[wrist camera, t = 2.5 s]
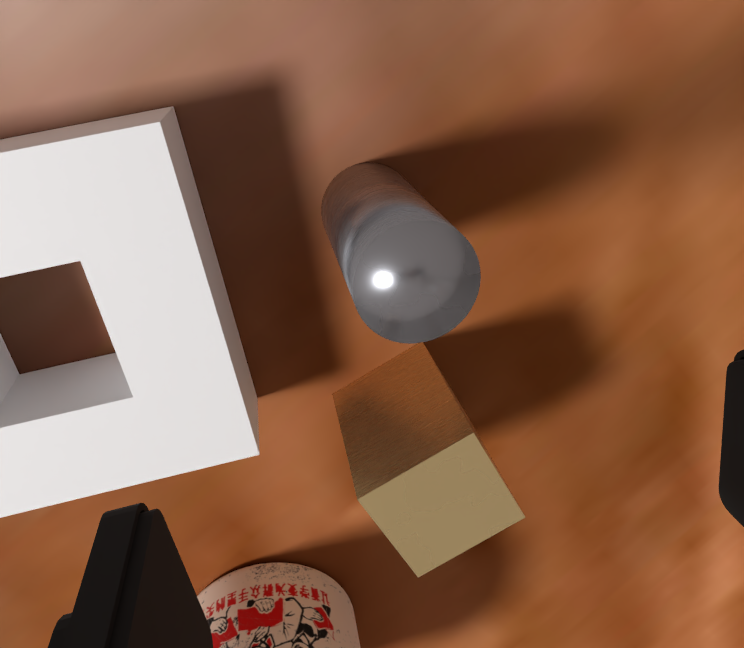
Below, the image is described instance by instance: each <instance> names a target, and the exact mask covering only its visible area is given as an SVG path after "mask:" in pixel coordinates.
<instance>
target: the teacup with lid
mask: <svg viewBox="0 0 744 648" xmlns="http://www.w3.org/2000/svg"><path fill="white" fill-rule="evenodd" d="M197 598H198V600H199V603H200V605H201V607H202V610H203V612H204V614H205V617H206V619H207V622H208V624H209V627H210V630H211V634H212V639H213V648H361V647H360V642H359V636H358V631H357V626H356V620H355V615H354V610H353V606H352V604H351V601H350V599H349V597H348V595H347V593H346V592H345V591H344V589H343V588H342V587H341V586H340V585H339V584H338V583H337V582H336V581H335V580H334V579H332V578H331V577H329V576H328V575H326V574H324V573H322V572H321V571H318V570H316V569H313V568H311V567H307V566H304V565H299V564H293V563H281V562H277V563H263V564H257V565H252V566H248V567H244V568H241V569H238V570H236V571H233V572H231V573H229V574H227V575H225V576H223V577H221V578H219V579H218V580H216V581H214V582H213V583H212V584H210V585H209V586H208V587H206V588H205V589H204V590H203V591H202V592H201V593H200V594H199V595H198V596H197Z"/></svg>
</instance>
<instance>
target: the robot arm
mask: <svg viewBox="0 0 744 648" xmlns="http://www.w3.org/2000/svg"><path fill="white" fill-rule="evenodd" d="M719 494H720V498H721V500H722V503H723V504H724V506H725V508H726V509H727V510H728V511H729V513H730V514H731V515H732V516H733V517H734V518H735V519H736V520H737V521H738V522H739V523H740V524H741V525H742V526H743V527H744V350H741V351H740V352H738V353H737V354H736V356H735V358H734V362H732V363H730V364H729V365H728V367H727V374H726V389H725V403H724V418H723V432H722V447H721V462H720V476H719ZM48 648H213V639H212V634H211V630H210V627H209V624H208V622H207V619H206V617H205V614H204V612H203V610H202V607H201V605H200V603H199V600H198V598H197V595H196V593H195V591H194V588H193V586H192V584H191V581H190V579H189V577H188V574H187V572H186V569H185V567H184V565H183V562H182V560H181V558H180V555H179V553H178V550H177V548H176V546H175V543H174V541H173V539H172V536H171V534H170V531H169V529H168V527H167V524H166V522H165V520H164V517H163V515H162V513H161V511H160V510H159V509H154V510H150V511H149V510H148V508H147V506H146V505H145V504H144V503H139V504H135V505H131V506H127V507H123V508H119V509H115V510H111V511H107V512H105V513H104V514H103V515H102V518H101V520H100V523H99V527H98V530H97V533H96V537H95V540H94V543H93V546H92V550H91V553H90V556H89V560H88V563H87V566H86V569H85V573H84V576H83V579H82V583H81V586H80V589H79V593H78V596H77V599H76V602H75V606H74V609H73V612H72V613H70V614H66V615H63V616H62V617H61V618H60V619H59V620H58V622H57V624H56V626H55V628H54V630H53V633H52V636H51V640H50V643H49V646H48Z"/></svg>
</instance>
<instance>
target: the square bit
mask: <svg viewBox="0 0 744 648" xmlns="http://www.w3.org/2000/svg"><path fill="white" fill-rule="evenodd" d="M332 395H333V399H334V403H335V408H336V412H337V416H338V420H339V424H340V429H341V433H342V437H343V441H344V445H345V450H346V454H347V458H348V462H349V466H350V471H351V475H352V479H353V483H354V487H355V492H356V496H357V500H358V501H359V502H360V504H361V505H362V506H363V507H364V509H365V510H366V511H367V513H368V514H369V515H370V516H371V518H372V519H373V520H374V522H375V523H376V524H377V525H378V527H379V528H380V529H381V531H382V532H383V533H384V534H385V536H386V537H387V538H388V540H389V541H390V542H391V543H392V545H393V546H394V547H395V549H396V550H397V551H398V552H399V554H400V555H401V556H402V558H403V559H404V560H405V561H406V563H407V564H408V565H409V567H410V568H411V569H412V570H413V572H414V573H415V574H416V576H417V577H420V576H422V575H424V574H425V573H427V572H429V571H431V570H433V569H434V568H436V567H438V566H440V565H441V564H443V563H445V562H447V561H449V560H450V559H452V558H454V557H456V556H457V555H459V554H461V553H463V552H465V551H466V550H468V549H470V548H472V547H473V546H475V545H477V544H479V543H481V542H482V541H484V540H486V539H488V538H489V537H491V536H493V535H495V534H497V533H498V532H500V531H502V530H504V529H505V528H507V527H509V526H511V525H513V524H514V523H516V522H518V521H520V520H521V519H523V518H525V516H524V514H523V512H522V511H521V509H520V507H519V505H518V504H517V502H516V500H515V498H514V497H513V495H512V493H511V491H510V490H509V488H508V486H507V484H506V483H505V481H504V479H503V477H502V475H501V474H500V472H499V470H498V468H497V467H496V465H495V463H494V461H493V460H492V458H491V456H490V454H489V453H488V451H487V449H486V447H485V446H484V444H483V442H482V440H481V439H480V437H479V435H478V433H477V432H476V430H475V428H474V426H473V425H472V423H471V421H470V419H469V418H468V416H467V414H466V412H465V411H464V409H463V407H462V406H461V404H460V402H459V401H458V399H457V398H456V396H455V394H454V393H453V391H452V389H451V388H450V386H449V384H448V383H447V381H446V379H445V378H444V376H443V374H442V373H441V371H440V370H439V368H438V366H437V365H436V363H435V361H434V360H433V358H432V356H431V355H430V353H429V351H428V350H427V348H426V346H425V345H424V343H423V342H421V343H418V344H416V345H414V346H413V347H411V348H409V349H408V350H406V351H404V352H403V353H401V354H399V355H398V356H396V357H394V358H392V359H391V360H389V361H387V362H386V363H384V364H382V365H381V366H379V367H377V368H375V369H374V370H372V371H370V372H369V373H367V374H365V375H364V376H362V377H360V378H359V379H357V380H355V381H353V382H352V383H350V384H348V385H347V386H345V387H343V388H342V389H340V390H338V391H337V392H335V393H333V394H332Z"/></svg>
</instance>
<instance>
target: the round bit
mask: <svg viewBox="0 0 744 648" xmlns="http://www.w3.org/2000/svg"><path fill="white" fill-rule="evenodd" d="M321 215H322V221H323V225H324V228H325V230H326V233H327V235H328V238H329V240H330V243H331V245H332V248H333V250H334V253H335V255H336V258H337V260H338V263H339V265H340V268H341V271H342V273H343V276H344V278H345V281H346V283H347V286H348V288H349V291H350V293H351V296H352V298H353V301H354V303H355V306H356V308H357V311H358V313H359V315H360V316H361V318H362V320H363V321H364V322H365V323H366V325H367V326H368V327H369V328H370V329H372V330H373V331H374V332H375V333H377V334H378V335H380V336H382V337H384V338H386V339H389V340H391V341H395V342H400V343H421V342H426V341H430V340H433V339H436V338H438V337H440V336H442V335H444V334H446V333H448V332H449V331H451V330H452V329H453V328H455V327H456V326H457V325H458V324H459V323H460V322H461V321H462V320H463V319H464V318H465V317H466V316H467V314H468V313H469V311H470V310H471V308H472V306H473V304H474V302H475V300H476V298H477V295H478V291H479V287H480V279H481V277H480V266H479V261H478V258H477V255H476V253H475V251H474V249H473V247H472V246H471V244H470V243H469V241H468V240H467V239H466V238H465V237H464V236H463V235H462V234H461V233H460V232H459V231H458V230H457V229H456V228H455V227H454V226H453V225H452V224H451V223H450V222H449V221H448V220H447V219H446V218H444V217H443V216H442V215H441V214H440V213H439V212H438V211H437V210H436V209H435V208H434V207H433V206H432V205H431V204H430V203H429V202H428V201H427V200H426V199H425V198H424V197H423V196H422V195H421V194H420V193H419V192H418V191H417V190H415V189H414V188H413V187H412V186H411V185H410V184H409V183H408V182H407V181H406V180H405V179H404V178H403V177H402V176H401V175H400V174H399V173H397V172H396V171H395V170H393V169H392V168H390V167H388V166H385V165H382V164H379V163H360V164H356V165H353V166H351V167H348V168H347V169H345V170H343V171H342V172H341V173H339V174H338V175H337V176H336V177H335V178H334V179H333V180H332V181H331V183H330V184H329V186H328V187H327V189H326V191H325V194H324V196H323V200H322V206H321Z"/></svg>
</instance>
